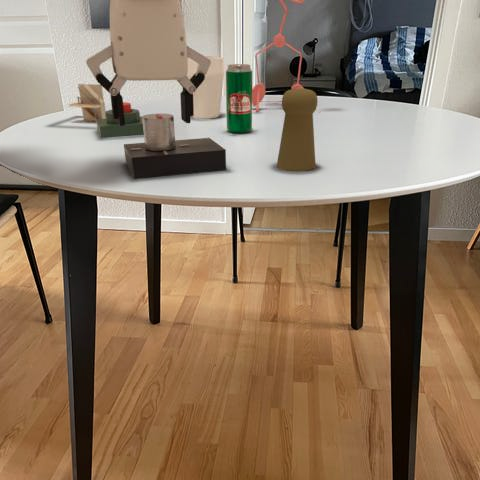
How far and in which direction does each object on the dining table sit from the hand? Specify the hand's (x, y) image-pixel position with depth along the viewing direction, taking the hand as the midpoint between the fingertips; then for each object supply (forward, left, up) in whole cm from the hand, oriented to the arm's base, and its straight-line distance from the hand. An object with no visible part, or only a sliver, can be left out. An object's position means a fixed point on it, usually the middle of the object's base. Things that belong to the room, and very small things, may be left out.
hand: (154, 122), depth 74 cm
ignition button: (-1, +29, -3) cm, 29 cm away
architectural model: (-6, +43, -7) cm, 44 cm away
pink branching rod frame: (+40, +46, -7) cm, 61 cm away
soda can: (+21, +22, -7) cm, 31 cm away
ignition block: (-1, +29, -7) cm, 30 cm away
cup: (+19, +41, -7) cm, 45 cm away
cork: (+21, -6, -7) cm, 23 cm away
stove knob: (+1, 0, -4) cm, 4 cm away
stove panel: (+3, 0, -7) cm, 7 cm away
